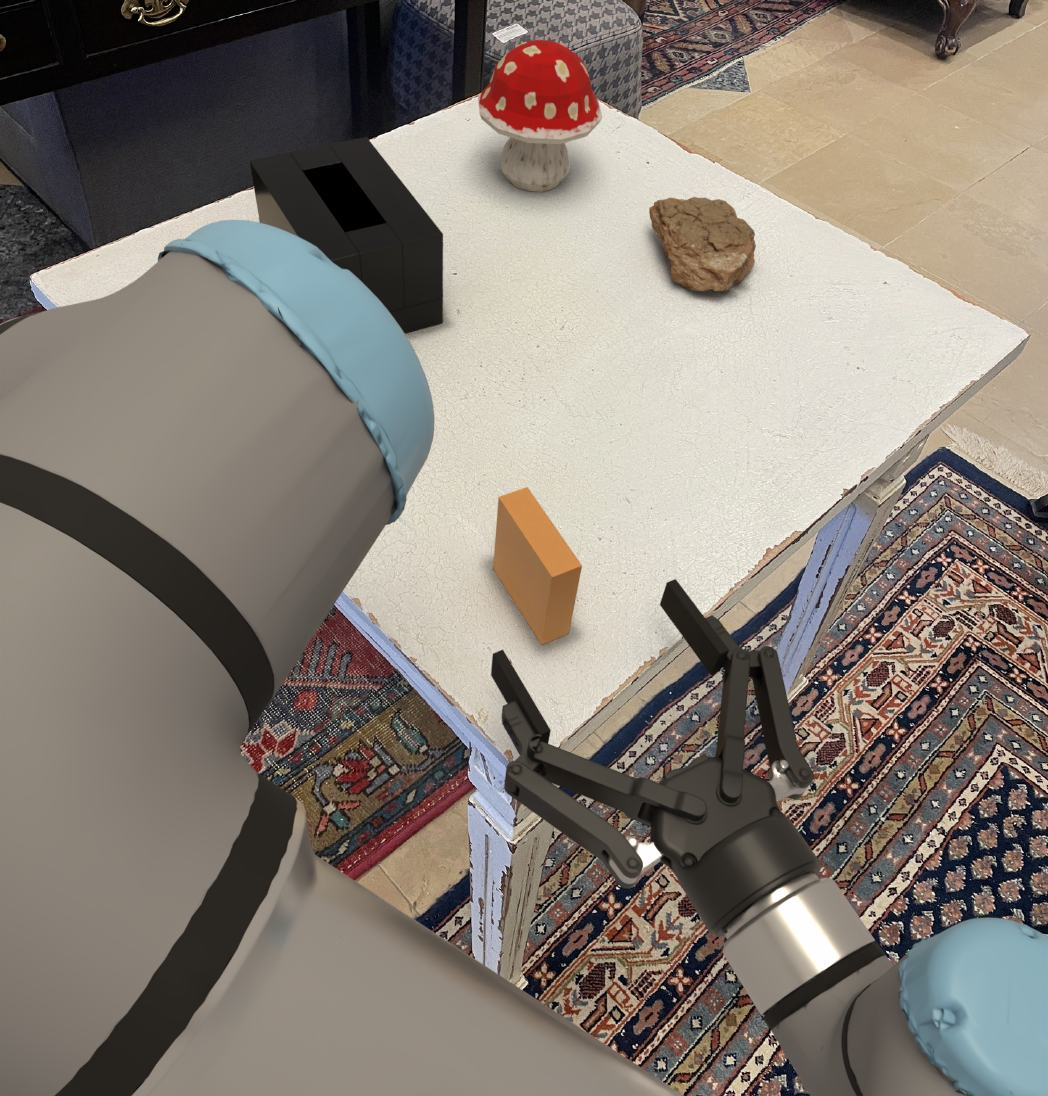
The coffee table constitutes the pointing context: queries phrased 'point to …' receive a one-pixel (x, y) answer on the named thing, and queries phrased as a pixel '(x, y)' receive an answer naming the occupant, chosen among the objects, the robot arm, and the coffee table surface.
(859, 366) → the coffee table surface
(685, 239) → the rock
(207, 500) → the robot arm
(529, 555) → the toast
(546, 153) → the decorative mushroom
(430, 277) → the toaster
